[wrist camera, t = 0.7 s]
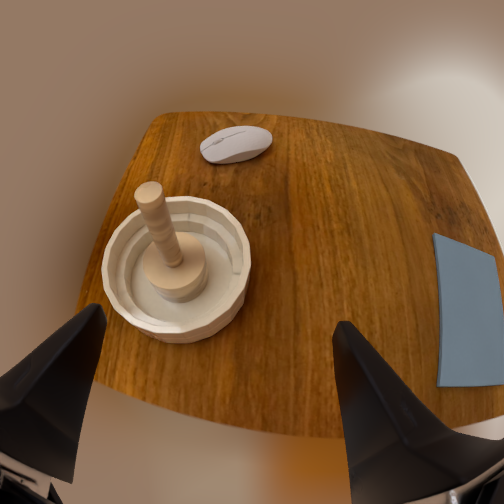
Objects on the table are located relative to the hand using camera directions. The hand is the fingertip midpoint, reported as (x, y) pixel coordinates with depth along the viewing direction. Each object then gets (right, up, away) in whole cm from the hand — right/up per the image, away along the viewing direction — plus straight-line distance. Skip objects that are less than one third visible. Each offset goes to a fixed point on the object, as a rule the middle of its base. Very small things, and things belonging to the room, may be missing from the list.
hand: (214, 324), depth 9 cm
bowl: (-6, 0, +17) cm, 18 cm away
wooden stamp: (-6, 0, +16) cm, 17 cm away
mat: (+30, -5, +16) cm, 35 cm away
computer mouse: (-1, +17, +27) cm, 32 cm away
